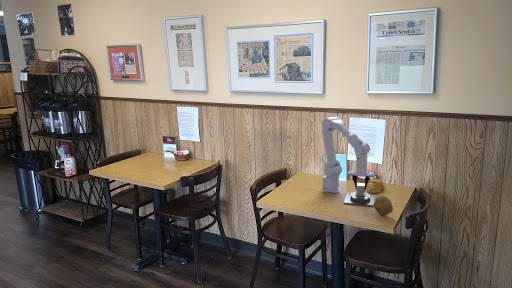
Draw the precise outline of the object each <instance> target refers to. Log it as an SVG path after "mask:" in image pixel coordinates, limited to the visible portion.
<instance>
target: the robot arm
mask: <svg viewBox="0 0 512 288" xmlns="http://www.w3.org/2000/svg"><path fill="white" fill-rule="evenodd" d="M321 126H322V131H321V132H322V137H323V145H324V151H325V157H326V161H325V163H324V165H323V167H324V168H323V173H324V175H322V189H321V190H322V192H324V193H337V194H338V193H339V192H340V190H341V188H340V187H339V185H340V184H339V183H340V176H341V174H342V172H343V168H342V166H341V162H340V161H339V160H337V157H336V151H335V143H334V138H333V133H334V132H335V130H336V131H339V132H340V133H341V135H343V136H344V137H345V138H346V142H347V143H348V144H349V145H350V147H352V148H353V151H354V153H355V157H356V159H355V162H356V163H355V171H347V177H352V178H351V179H352V181H353V183H354V184H353V185H354V187H355V190H357V183H358V177H361V178H364V184H365V187H364V190H365V191H366V186H367V183H368V182H369V180H371V178H372V179H376V173H374V172H373V173H371V172H368V153H369V152H370V150H371V148H370V145H369V144H368V143H367V142H364V141H363V140H361V138H360V137H358V135H357V134H355V133H351V131H350V130H349V129H348V128H347V127H346V125H345V124H344V122H343V120H342V119H341V117H340V116H334V117H333V116H331V117H326V118H323V120H322V122H321Z"/></svg>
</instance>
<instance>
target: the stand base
mask: <svg viewBox="0 0 512 288" xmlns="http://www.w3.org/2000/svg"><path fill="white" fill-rule="evenodd" d="M356 194H357V191H353V192H347V193H346V195H345V198H344V202H343V205H350V206H360V207H369V208H374V202H375V200H376V199H377V195H376V194H368V193H366V192H365V196H364V197H361V196H359V197H357V196H356Z"/></svg>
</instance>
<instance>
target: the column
mask: <svg viewBox="0 0 512 288" xmlns="http://www.w3.org/2000/svg"><path fill="white" fill-rule="evenodd" d="M364 187H365V182H364V183H363V182H362V183H361V182H357V189H356V192H357V194H356V196H357V197H359V196H361V197H364V196H365V193H366V190H364Z"/></svg>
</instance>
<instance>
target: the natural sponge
mask: <svg viewBox="0 0 512 288" xmlns="http://www.w3.org/2000/svg"><path fill="white" fill-rule="evenodd" d="M373 208H374V210H375V212H377V214H379V215H380V216H386V215H389V214H392V213H393V210H394V206H393V204H392V202H391V200H390V198H389V197H387V196H386V195H380V196H378V197H376V200H375V202H374V207H373Z"/></svg>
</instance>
